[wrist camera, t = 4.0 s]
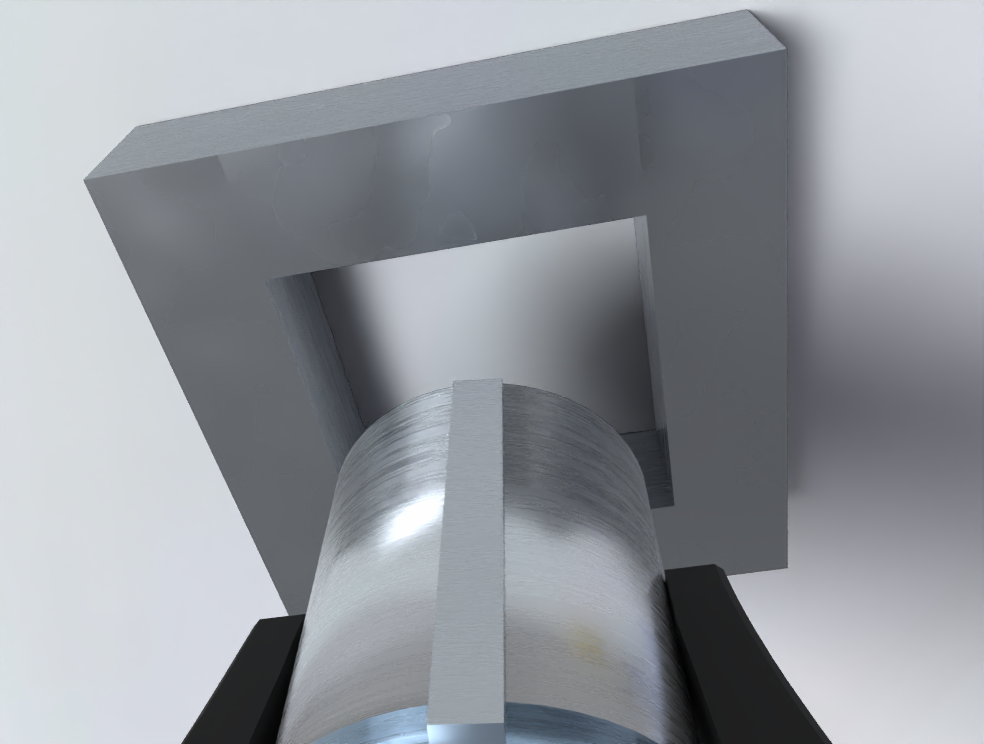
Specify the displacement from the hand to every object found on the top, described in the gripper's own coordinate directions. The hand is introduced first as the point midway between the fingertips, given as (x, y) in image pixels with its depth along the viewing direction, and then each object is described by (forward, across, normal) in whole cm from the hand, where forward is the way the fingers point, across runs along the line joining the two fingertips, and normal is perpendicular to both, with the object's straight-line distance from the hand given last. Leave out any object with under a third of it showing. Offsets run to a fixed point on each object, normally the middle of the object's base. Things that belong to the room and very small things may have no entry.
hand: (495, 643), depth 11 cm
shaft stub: (+2, 0, 0) cm, 2 cm away
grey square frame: (+8, 0, 0) cm, 8 cm away
